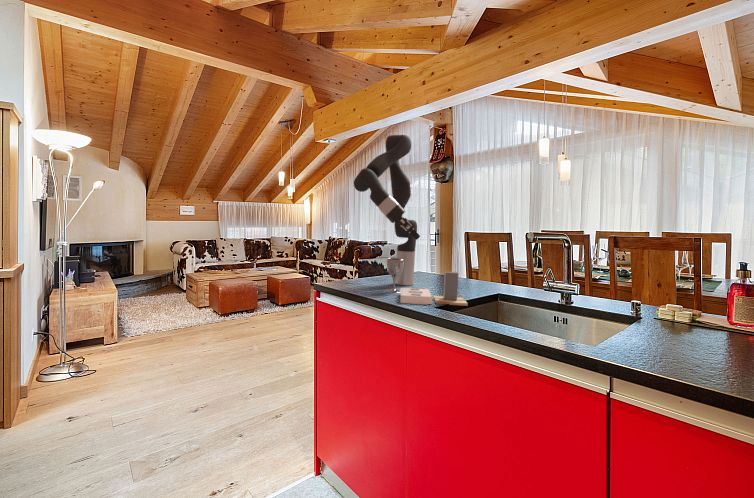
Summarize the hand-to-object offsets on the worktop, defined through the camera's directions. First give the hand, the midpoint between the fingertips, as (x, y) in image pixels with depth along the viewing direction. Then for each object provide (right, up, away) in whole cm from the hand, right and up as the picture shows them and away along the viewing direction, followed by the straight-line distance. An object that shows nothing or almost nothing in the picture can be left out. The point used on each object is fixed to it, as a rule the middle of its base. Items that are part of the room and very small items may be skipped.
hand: (417, 237), depth 155 cm
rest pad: (+13, -26, -4) cm, 29 cm away
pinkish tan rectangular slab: (-1, -25, -2) cm, 26 cm away
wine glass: (-9, -24, +15) cm, 30 cm away
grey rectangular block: (+13, -25, -4) cm, 28 cm away
